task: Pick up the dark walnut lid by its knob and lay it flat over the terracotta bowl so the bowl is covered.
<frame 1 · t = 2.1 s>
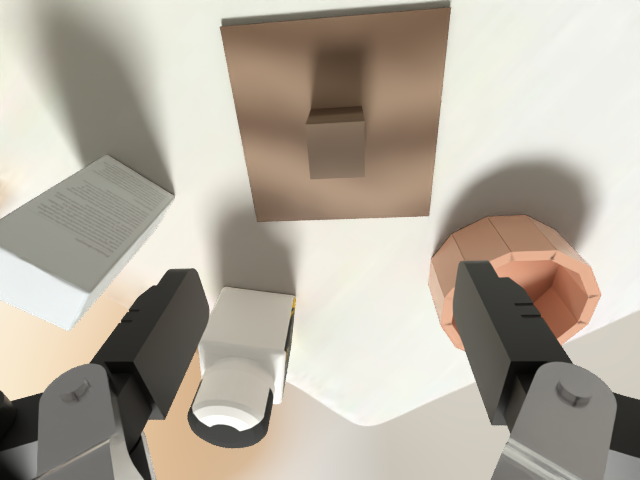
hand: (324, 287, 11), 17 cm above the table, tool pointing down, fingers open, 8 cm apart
walnut lid: (337, 129, 26), on the table
terracotta bowl: (494, 270, 31), on the table
skincare box: (135, 193, 30), on the table
medicine bottle: (259, 314, 36), on the table
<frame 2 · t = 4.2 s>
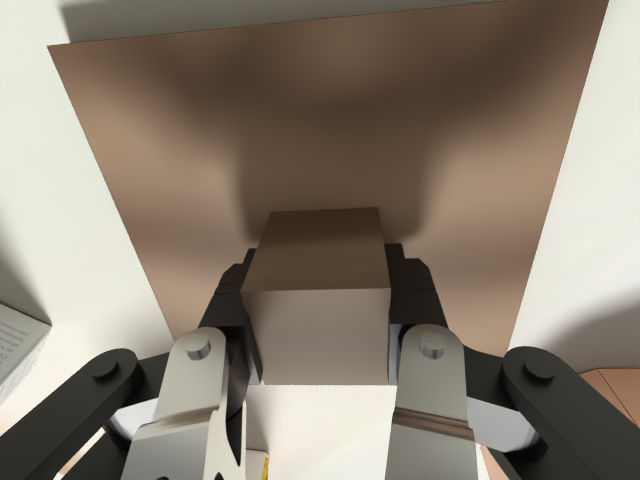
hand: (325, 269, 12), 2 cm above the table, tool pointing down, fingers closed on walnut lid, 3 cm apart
walnut lid: (328, 238, 13), on the table, touching gripper
terracotta bowl: (592, 436, 19), on the table
medicine bottle: (215, 467, 24), on the table
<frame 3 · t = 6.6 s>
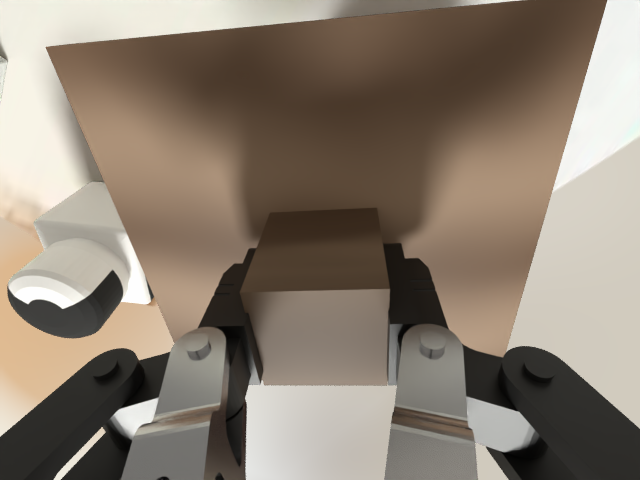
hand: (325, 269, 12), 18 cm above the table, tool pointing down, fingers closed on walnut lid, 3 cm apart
walnut lid: (327, 239, 13), point 16 cm above the table, touching gripper
medicine bottle: (140, 218, 33), on the table
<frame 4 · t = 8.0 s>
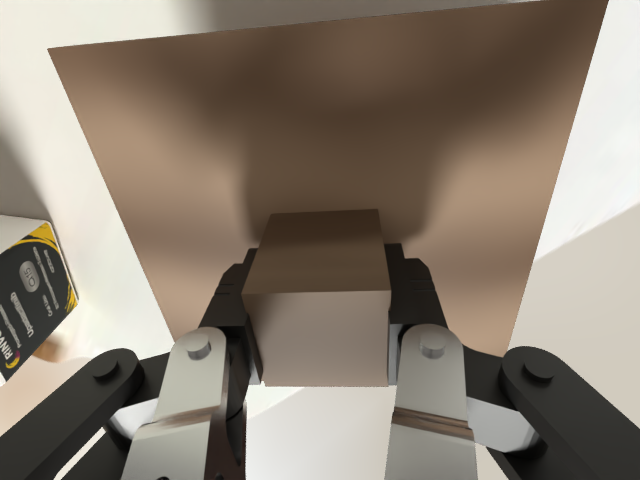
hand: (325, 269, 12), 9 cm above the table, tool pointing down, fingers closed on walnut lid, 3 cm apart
walnut lid: (328, 240, 13), point 7 cm above the table, touching gripper
medicine bottle: (18, 256, 24), on the table
when the fingers open (7 cm above the table, at t = 9.0 s): walnut lid stays where it is, resting on terracotta bowl.
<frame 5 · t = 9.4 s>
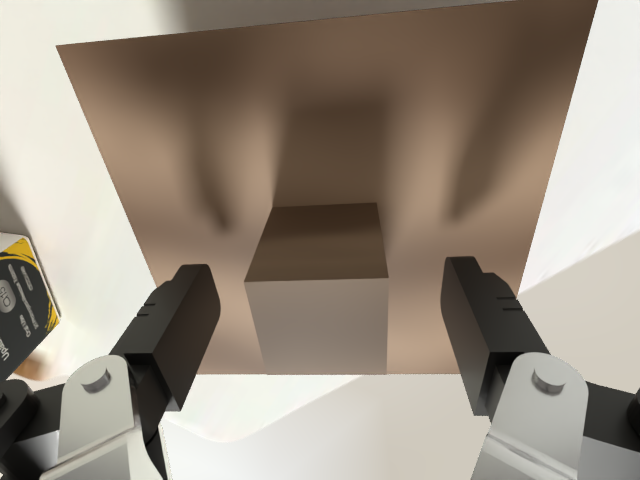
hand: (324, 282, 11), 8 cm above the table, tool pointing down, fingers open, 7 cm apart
walnut lid: (328, 234, 14), point 5 cm above the table, touching terracotta bowl
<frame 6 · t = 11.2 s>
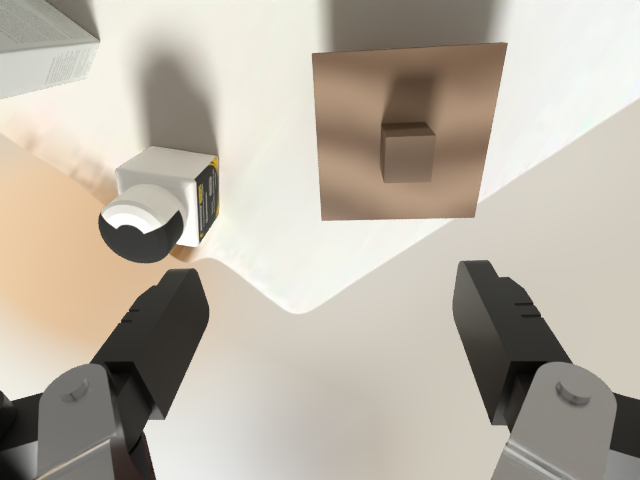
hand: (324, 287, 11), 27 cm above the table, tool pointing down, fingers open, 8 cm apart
walnut lid: (399, 141, 30), point 5 cm above the table, touching terracotta bowl
skincare box: (64, 39, 32), on the table
medicine bottle: (187, 180, 39), on the table
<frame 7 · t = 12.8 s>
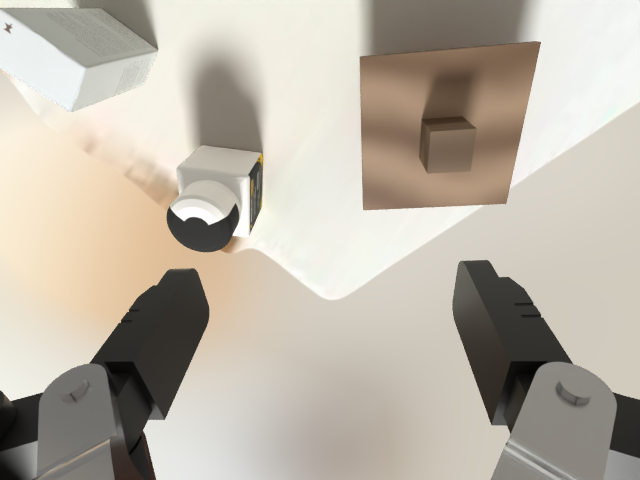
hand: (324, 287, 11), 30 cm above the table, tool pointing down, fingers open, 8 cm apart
walnut lid: (437, 134, 33), point 5 cm above the table, touching terracotta bowl
skincare box: (125, 49, 35), on the table
medicine bottle: (233, 176, 42), on the table
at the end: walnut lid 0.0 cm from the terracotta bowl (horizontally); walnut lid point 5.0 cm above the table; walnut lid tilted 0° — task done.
